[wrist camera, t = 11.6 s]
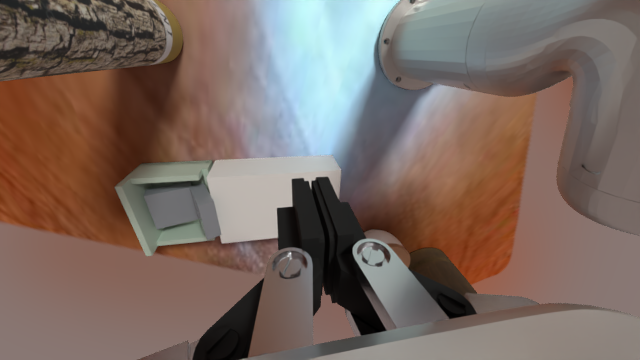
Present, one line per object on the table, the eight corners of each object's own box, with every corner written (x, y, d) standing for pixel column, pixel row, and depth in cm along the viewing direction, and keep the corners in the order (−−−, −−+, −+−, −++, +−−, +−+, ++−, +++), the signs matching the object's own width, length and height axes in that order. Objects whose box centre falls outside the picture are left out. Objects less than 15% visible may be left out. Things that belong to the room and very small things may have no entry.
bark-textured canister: (169, 75, 30) (-83, 133, 9) (109, 34, 27) (-502, -32, 6) (195, 29, 28) (-40, -43, 7) (134, -20, 25) (-616, -418, 4)
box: (212, 160, 37) (200, 181, 30) (224, 220, 42) (217, 248, 36) (141, 163, 35) (114, 186, 29) (164, 225, 41) (146, 256, 35)
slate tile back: (143, 196, 32) (145, 189, 34) (156, 229, 35) (157, 221, 37) (191, 187, 35) (191, 181, 36) (200, 218, 38) (199, 212, 39)
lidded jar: (345, 259, 53) (358, 296, 45) (349, 223, 48) (365, 257, 40) (388, 254, 55) (408, 288, 47) (397, 218, 50) (421, 250, 42)
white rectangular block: (332, 154, 40) (341, 170, 35) (328, 211, 46) (336, 231, 41) (215, 160, 37) (206, 177, 31) (227, 220, 42) (221, 243, 37)
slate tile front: (213, 201, 32) (198, 205, 31) (221, 234, 34) (207, 240, 33) (203, 183, 36) (189, 186, 35) (210, 214, 39) (197, 218, 38)
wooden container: (385, 289, 62) (436, 393, 43) (400, 248, 55) (468, 351, 36) (434, 284, 65) (501, 379, 46) (453, 245, 58) (541, 338, 39)
